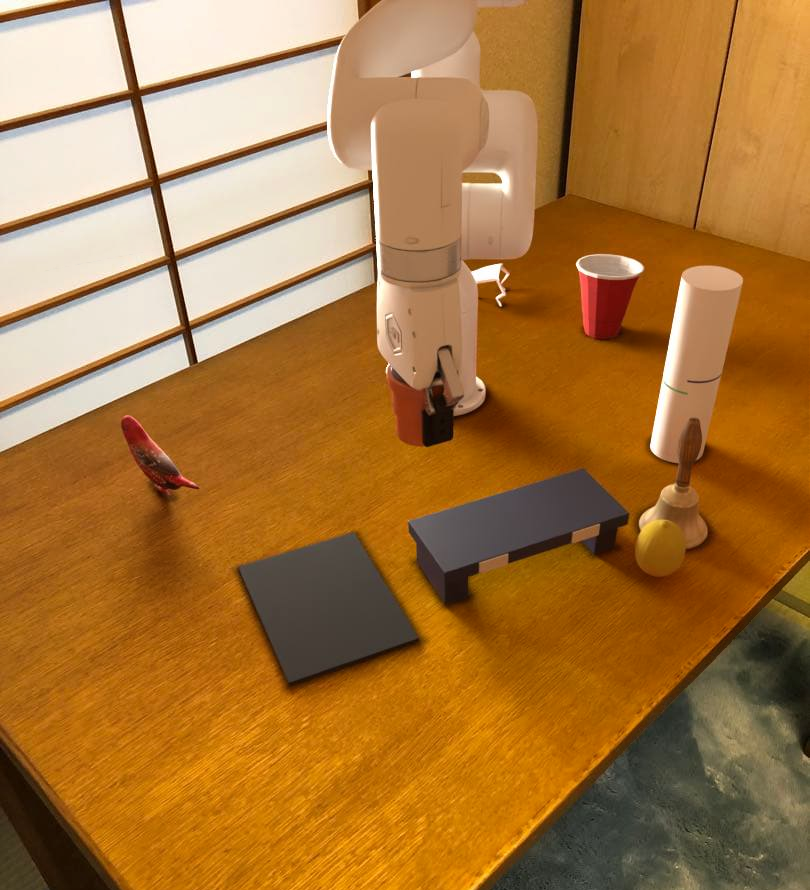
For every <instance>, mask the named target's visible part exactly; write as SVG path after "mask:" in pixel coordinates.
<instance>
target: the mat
mask: <svg viewBox="0 0 810 890" xmlns="http://www.w3.org/2000/svg"><path fill="white" fill-rule="evenodd" d="M360 541H361V540H360V539H359V538H358V536H357V534H356V533H355V531H352V532H349V533H346V534H343V535H339V536H336V537H332V538H330V539H325V540H323V541H319V542H315V543H313V544H309V545H306V546H303V547H299V548H295V549H292V550H289V551H285V552H282V553H279V554H275V555H272V556H269V557H266V558H262V559H258V560H256V561H251V562H249V563H246V564H242V565H239V566H238V567H237V569H238V572H239V575H240V576H241V579H242V582H243V584H244V586H245V589H246V590H247V593H248V595H249V597H250V600H251V602H252V604H253V607H254V609H255V611H256V613H257V615H258V616H257V617H258V618H259V620H260V622H261V625H262V627H263V629H264V632H265V635H266V636H267V639H268V641H269V643H270V646H271V648H272V650H273V653H274V655H275V658H276V659H277V661H278V665H279V666H280V669H281V671H282V674H283V676H284V678H285V681H286V683H287V685H288V687H292V686H295V685H298V684H301V683H304V682H306V681H307V682H308V681H309V680H312V679H315V678H319V677H321V676H324V675H326V674H330V673H333V672H335V671H339V670H342V669H344V668H347V667H350V666H353V665H356V664H359V663H362V662H365V661H367V660H371V659H372V658H376V657H379V656H382V655H386V654H388V653H391V652H394V651H396V650H399V649H402V648H405V647H409V646H411V645H414V644H417V643H420V637H419V635H418V633H417V632H416V630H415V629H414V627H413V625H412V624H411V623H410V621H409V619H408V618H407V616H406V614H405V612H404V610H403V609H402V608H401V606H400V605H399V603H398V601H397V599H396V598H395V595H394V594H393V593H392V592H391V590H390V588H389V587H388V584H386V582H385V580H384V579H383V577H382V575H381V574H380V572H379V571H378V569H377V567H376V566H375V564H374V562H373V561H372V559H371V557H370V556H369V555H368V553H367V551H366V549H365V548H364V546H363V544H362V542H360Z"/></svg>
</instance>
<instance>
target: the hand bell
mask: <svg viewBox="0 0 810 890" xmlns="http://www.w3.org/2000/svg"><path fill="white" fill-rule="evenodd" d="M701 444H702V432H701V427H700V420H699V419H698V418H690V419H689V420H688V422H687V424H686V426H685V427H684V429H683V431H682V432H681V435H680V437H679V441H678V448H677V453H678V460H679V463H678V467H677V471H676V476H675V479H674V483H671V484H669V485H667V486H665V487H663V489H662V490H661V492H660V495H659V497H658V500H657V502H656V504H655V505H654V506H652V507H650V508H648V509H647V510H645V511H644V512H643V513H642V515H641V516H640V518H639V520H638V528H639V530H640V532H641V531H642V529H643V528H644V527H645V526H646V525H647V524H648V523H650V522H652V521H655V520H662V519H663V520H669V521H671V522H673V523H675V524H676V525H678V526H679V527H680V528H681V530H682V532H683V533H684V537H685V542H686V550H689V549H694V548H696V547H698V546H700V545H701V544H703V543H704V541H705V540H706V539H707V537H708V534H709V533H708V532H709V531H708V526H707V523H706V522H705V519H704V518H703V517H702V516H701V515H700V514H699V501H700V496H699V494H698V492H697V491H696V490H695V489H694V488H693V487H691V486H690V484H691V477H692V476H691V475H692V470H693V465H694V464H695V462H696V461H697V460H696V459H697V457H698V455H699V452H700V449H701ZM695 460H696V461H695Z"/></svg>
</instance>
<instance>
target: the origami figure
mask: <svg viewBox="0 0 810 890" xmlns="http://www.w3.org/2000/svg"><path fill="white" fill-rule="evenodd" d="M471 272H472V274H473V276H474V278H475V281H476V283H477V285H478V284H485V283H491V282H496V284H497V286H498V288H499V290H500V292H501V294H499V295H498V296H496V297H495V300H496V302H497V304H498V306H499V307H502V306H503V304H502V302H501V300H500V299H502V298H504V297H506V296H507V292H506V291H507V289H506V288H505V287H504V286H503V283H504V282H505V281H506V279H508V277H509V276H510V275H511V273H510V271H508V270H507V269H506V268H505V267H504V263H497V264H492V265H487V266H484V267H481V268H478V269H475V270H473V271H472V270H471ZM501 272H503V273H505V276H504V278H502V280H501V282H500V278H499V277H500V273H501Z"/></svg>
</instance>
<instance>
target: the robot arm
mask: <svg viewBox="0 0 810 890" xmlns="http://www.w3.org/2000/svg"><path fill="white" fill-rule="evenodd" d="M528 1H529V0H380V1H379V2H377V3H376V4H375V5H374V6H373V7H372V8H370V9H369V10H368V11H367V12H366V13H364V14H363V15H362V16H361V17H360V19H359V20H357V21H356V22H355V23H354V24H353V26H352V27H350V28H349V29H348V31H347V32H346V34H345V35H344V37H343V38H342V40H341V42H340V43H339V46H338V48H337V51H336V54H335V57H334V63H333V68H332V75H331V81H330V88H329V95H328V102H327V103H328V104H327V121H326V124H327V126H326V127H327V136H328V137H327V138H328V141H329V145H330V149H331V151H332V153H333V155H334V157H335V158H336V159H337V160H338V161H339V163H340V164H342V165H343V166H345V167H347V168H349V169H352V170H357V171H372V182H373V201H374V202H373V204H374V221H375V236H376V237H375V239H376V240H375V241H376V258H377V284H376V285H377V287H376V340H377V341H376V342H377V349H378V351H379V353H380V355H381V356H382V357H383V359H384V360H385V361H386V362H387V363H388V365H389V364H390V365H391V366H392V367H393V369H394V370H395V371H396V372H397V373H398V374H399V375H400V376H401V377H402V378H403V379H404V380H405V381H406V382H407V383H408V384H409V385H410V386H411V387H412V388H414V389H416V390H422V389H423V393H424V403H425V409H426V410H424V411H422V443H423V444H424V446H423V447H426V448H430V447H433V446H436V445H441V444H443V443H447V442H450V441H452V440H453V439H454V433H455V431H454V430H455V429H454V426H455V425H454V423H455V421H454V419H455V418H454V417H457V416H461V415H465V414H468V413H470V412H472V411H475V410H476V409H477V408H479V407H480V406H481V405H482V404H483V403H484V402H485V399H486V393H487V389H486V385H485V383H484V381H482V379H480V378H479V377H478V376H477V350H478V349H477V348H478V346H477V345H478V313H479V312H478V308H479V290H478V289H479V288H478V284H477V283H476V281H475V278H474V276H473V274H472V270H470V268H469V267H468V265H467V263H466V262H464V261H469V260H515V259H519V258H522V257H523V256H525V254H527V252H529V249H530V247H531V244H532V239H533V234H534V227H535V226H534V225H535V210H536V209H535V207H536V206H535V205H536V188H537V187H536V184H537V163H538V138H539V137H538V135H539V134H538V132H539V128H538V127H539V126H538V114H537V110H536V106H535V103H534V101H533V99H532V98H531V97H530V96H529V95H528V94H526V93H525V92H523V91H520V90H514V89H482V87H481V82H480V78H481V75H480V73H481V45H480V40H479V38H478V37H477V34H476V33H475V27H476V25H477V18H478V8H513V7H514V8H515V7H519V6H523V5H525V4H526V3H527V2H528ZM410 73H411V76H405V75H407V74H410ZM463 173H493V174H496V175H497V176H499V178H500V179H501V183H471V182H463ZM437 372H439V374H440V377H439V378H435V379H433V378H434V375H435V373H437ZM440 385H443V386H444V392H443V394H442V395H439V396H437V397H436V398H435V399H433V394H432V389H431V388H433V387H437V386H440Z"/></svg>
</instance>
